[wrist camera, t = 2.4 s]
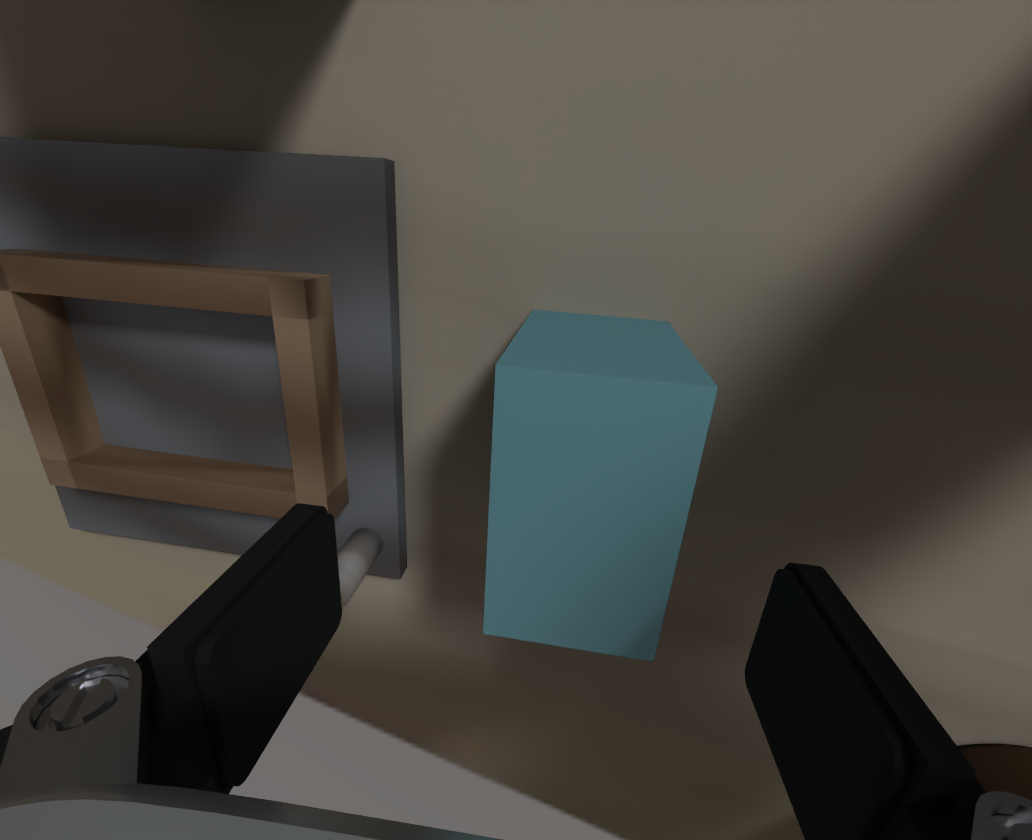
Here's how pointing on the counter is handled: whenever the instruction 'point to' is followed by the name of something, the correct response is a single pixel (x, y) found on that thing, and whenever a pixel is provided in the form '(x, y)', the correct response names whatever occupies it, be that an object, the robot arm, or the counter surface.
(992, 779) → the olive oil
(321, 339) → the board
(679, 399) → the teal block
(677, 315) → the counter surface
